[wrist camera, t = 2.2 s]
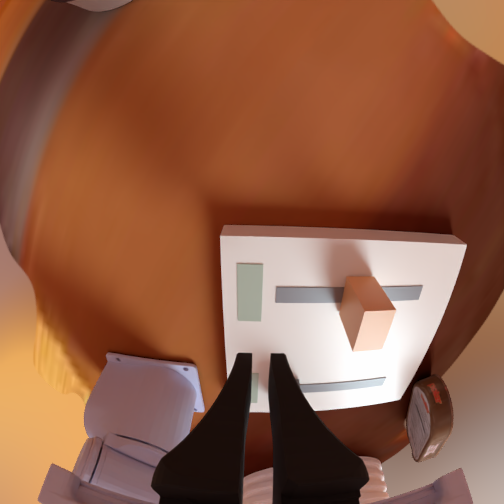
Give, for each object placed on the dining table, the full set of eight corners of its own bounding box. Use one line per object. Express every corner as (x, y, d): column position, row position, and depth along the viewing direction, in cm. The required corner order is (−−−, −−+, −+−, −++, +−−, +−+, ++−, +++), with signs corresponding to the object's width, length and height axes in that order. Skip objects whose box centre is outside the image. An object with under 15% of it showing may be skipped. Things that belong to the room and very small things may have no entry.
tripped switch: (338, 313, 19) (352, 351, 15) (346, 276, 17) (364, 311, 14) (364, 313, 19) (382, 349, 15) (374, 276, 17) (396, 309, 14)
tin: (418, 420, 30) (434, 463, 22) (399, 427, 30) (414, 472, 23) (434, 359, 24) (465, 415, 16) (410, 369, 24) (437, 429, 17)
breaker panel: (231, 395, 26) (230, 411, 24) (224, 224, 18) (219, 236, 16) (394, 386, 26) (400, 400, 24) (453, 234, 18) (467, 245, 16)
